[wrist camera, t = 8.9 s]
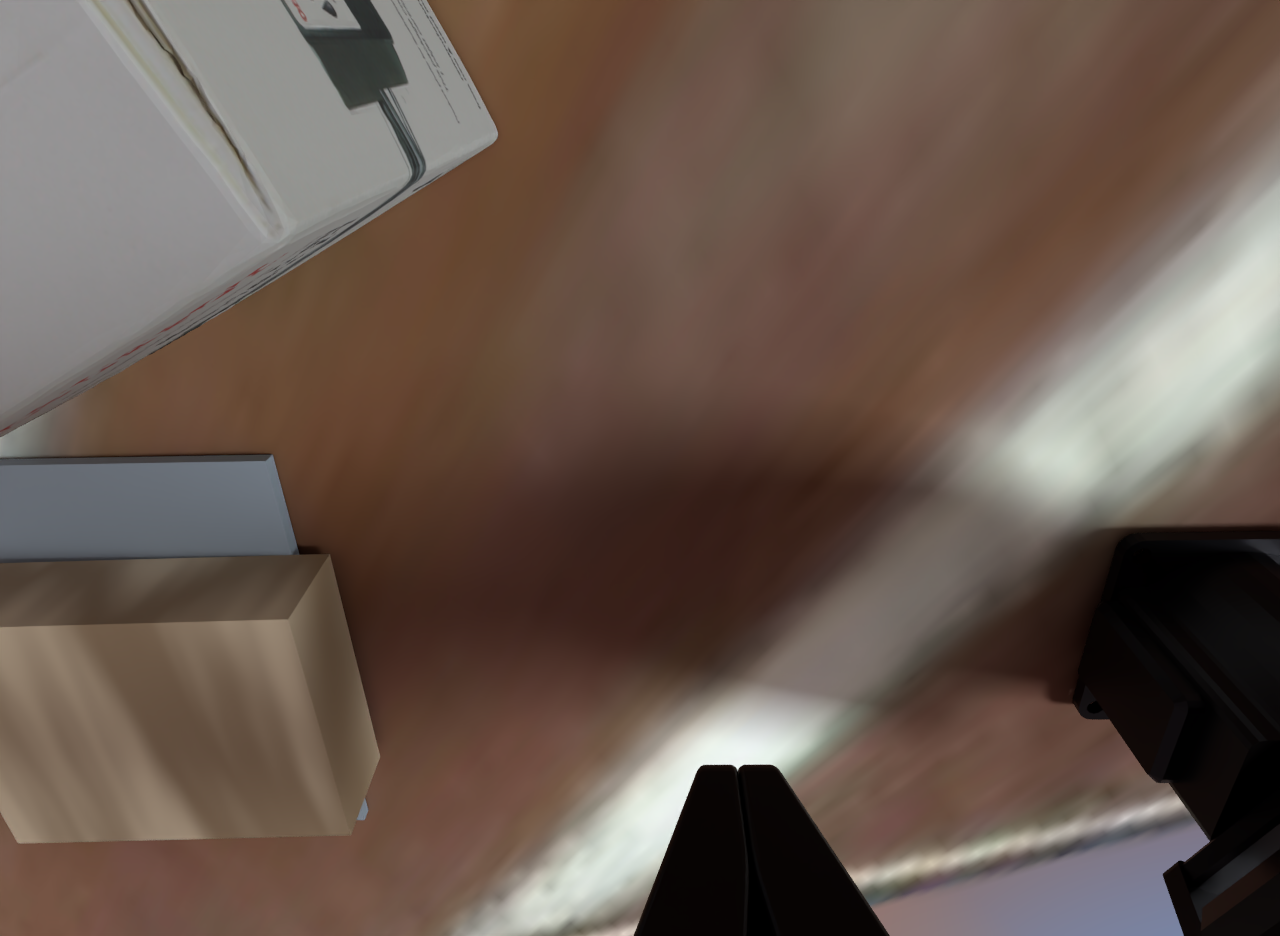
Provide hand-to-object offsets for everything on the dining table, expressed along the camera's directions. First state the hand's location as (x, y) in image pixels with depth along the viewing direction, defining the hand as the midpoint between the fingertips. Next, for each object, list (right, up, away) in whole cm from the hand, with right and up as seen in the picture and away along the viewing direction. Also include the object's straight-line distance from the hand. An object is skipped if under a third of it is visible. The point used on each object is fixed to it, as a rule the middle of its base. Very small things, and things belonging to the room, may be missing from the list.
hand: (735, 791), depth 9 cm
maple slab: (-10, -3, +14) cm, 18 cm away
